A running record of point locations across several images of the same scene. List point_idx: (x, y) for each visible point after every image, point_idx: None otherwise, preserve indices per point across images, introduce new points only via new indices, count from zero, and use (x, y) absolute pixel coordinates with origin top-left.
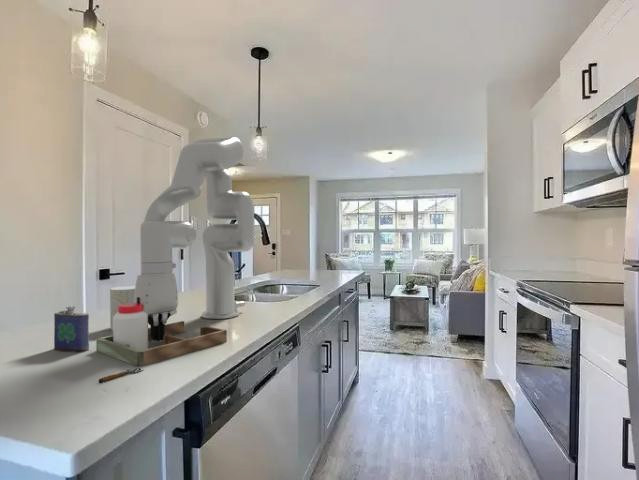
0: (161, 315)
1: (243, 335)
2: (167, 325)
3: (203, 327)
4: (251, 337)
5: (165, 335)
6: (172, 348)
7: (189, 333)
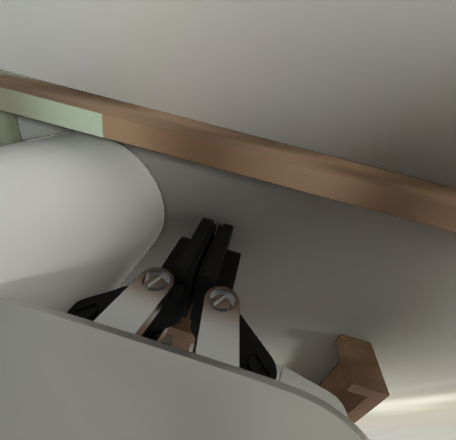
0: (226, 351)
1: (412, 419)
2: (393, 213)
3: (354, 392)
4: (386, 433)
5: (173, 328)
6: None
7: (439, 261)
